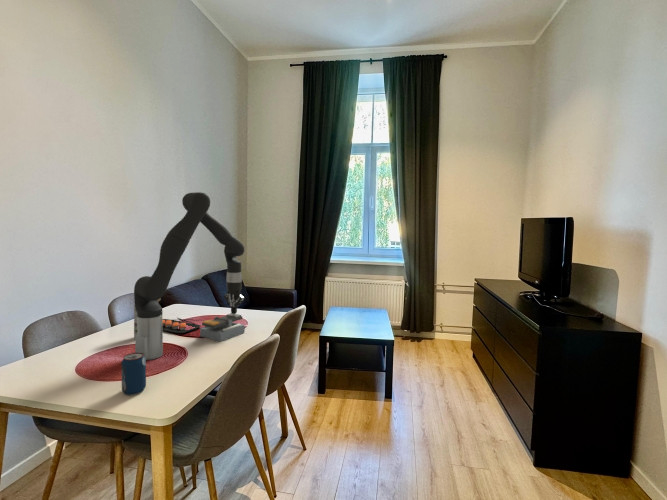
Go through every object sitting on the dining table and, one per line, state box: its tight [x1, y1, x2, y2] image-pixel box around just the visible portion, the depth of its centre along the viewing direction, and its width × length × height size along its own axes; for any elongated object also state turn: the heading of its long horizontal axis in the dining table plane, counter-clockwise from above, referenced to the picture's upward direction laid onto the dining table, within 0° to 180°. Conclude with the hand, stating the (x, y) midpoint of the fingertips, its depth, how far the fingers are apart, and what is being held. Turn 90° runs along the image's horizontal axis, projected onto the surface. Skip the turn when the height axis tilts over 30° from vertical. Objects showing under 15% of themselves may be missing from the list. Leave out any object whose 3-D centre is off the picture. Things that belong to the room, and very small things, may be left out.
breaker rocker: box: [201, 312, 243, 328], centre depth 172 cm, size 19×8×2 cm, turn 152°
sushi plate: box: [162, 317, 202, 334], centre depth 188 cm, size 29×30×4 cm
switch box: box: [199, 316, 246, 342], centre depth 172 cm, size 16×14×8 cm
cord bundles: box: [204, 323, 241, 332], centre depth 172 cm, size 12×13×1 cm
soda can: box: [120, 352, 147, 396], centre depth 113 cm, size 7×7×12 cm
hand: (233, 313), depth 178 cm, fingers closed
